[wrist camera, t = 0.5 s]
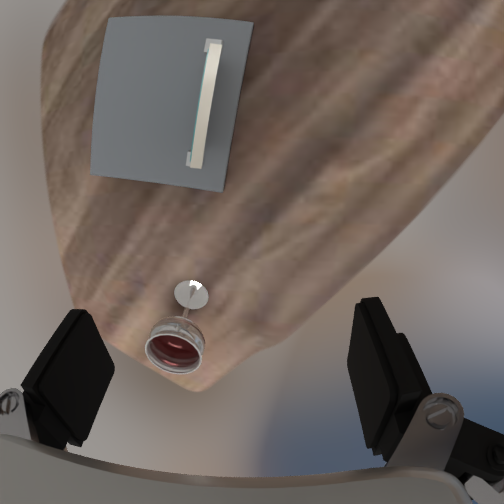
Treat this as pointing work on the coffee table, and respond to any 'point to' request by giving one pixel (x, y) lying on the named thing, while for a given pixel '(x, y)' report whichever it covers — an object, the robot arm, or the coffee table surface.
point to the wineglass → (179, 334)
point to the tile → (204, 105)
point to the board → (166, 98)
